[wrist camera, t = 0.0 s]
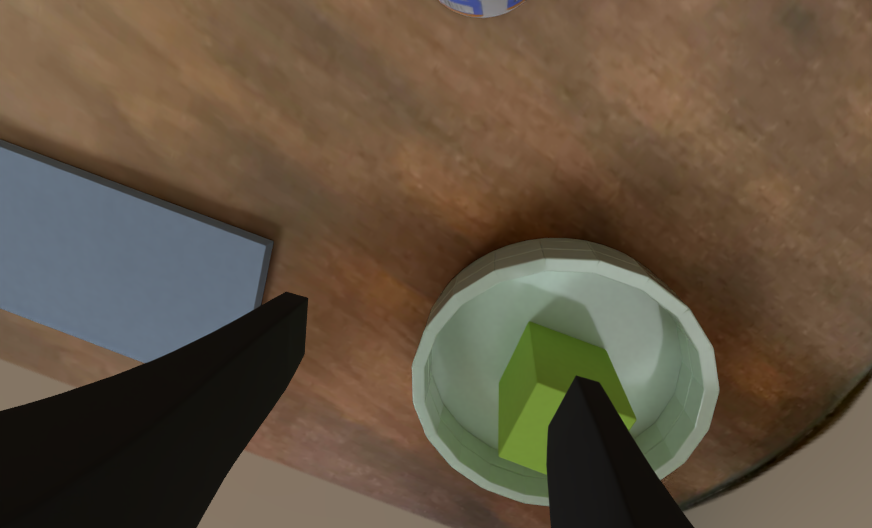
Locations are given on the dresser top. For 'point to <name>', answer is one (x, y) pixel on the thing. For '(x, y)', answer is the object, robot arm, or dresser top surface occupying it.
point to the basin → (571, 315)
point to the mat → (118, 260)
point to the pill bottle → (481, 7)
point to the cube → (548, 390)
